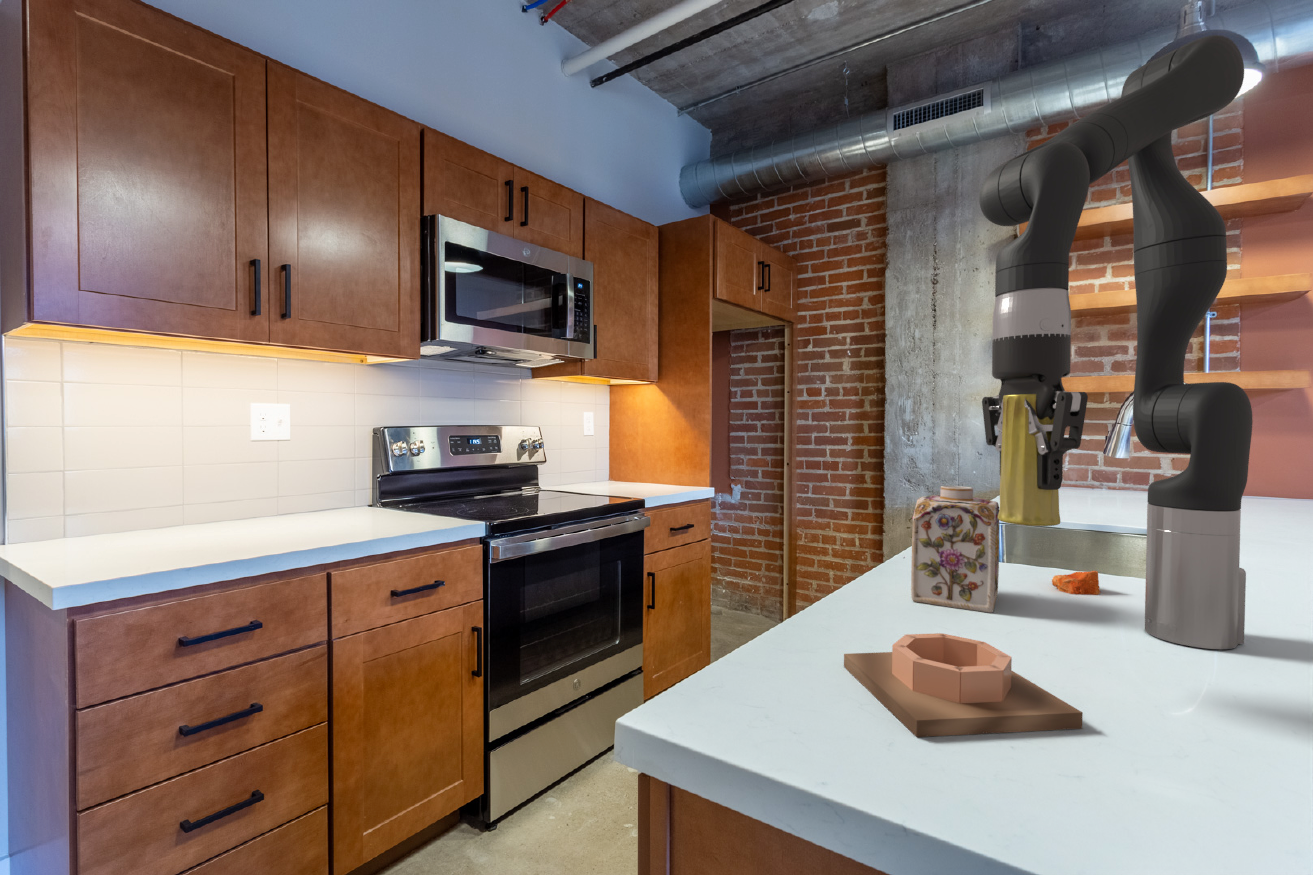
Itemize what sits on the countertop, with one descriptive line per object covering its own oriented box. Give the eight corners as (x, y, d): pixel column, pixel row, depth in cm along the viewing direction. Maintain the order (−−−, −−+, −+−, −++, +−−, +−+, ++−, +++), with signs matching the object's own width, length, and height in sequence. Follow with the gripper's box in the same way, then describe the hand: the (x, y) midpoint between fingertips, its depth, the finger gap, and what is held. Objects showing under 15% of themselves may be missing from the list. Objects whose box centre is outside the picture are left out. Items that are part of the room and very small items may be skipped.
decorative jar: (909, 602, 97) (910, 487, 97) (921, 585, 107) (922, 481, 107) (996, 614, 91) (998, 492, 91) (1000, 596, 101) (1002, 485, 101)
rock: (1017, 587, 109) (1017, 563, 109) (1073, 583, 112) (1074, 559, 112) (1077, 606, 97) (1078, 579, 97) (1139, 601, 100) (1139, 575, 100)
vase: (1070, 527, 66) (1072, 393, 66) (1008, 525, 68) (1009, 394, 67) (1047, 518, 72) (1048, 395, 72) (990, 516, 74) (991, 396, 73)
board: (975, 661, 73) (975, 648, 73) (1082, 728, 57) (1082, 712, 57) (843, 666, 71) (844, 653, 71) (916, 736, 55) (916, 720, 55)
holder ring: (967, 658, 70) (967, 632, 70) (1032, 699, 59) (1033, 668, 59) (878, 662, 69) (878, 635, 69) (929, 704, 58) (929, 673, 58)
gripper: (1115, 326, 63) (1112, 493, 63) (1017, 343, 77) (1016, 480, 77) (1046, 325, 62) (1044, 494, 62) (960, 343, 76) (959, 481, 77)
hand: (1028, 485), depth 70 cm, fingers closed on vase, 5 cm apart
